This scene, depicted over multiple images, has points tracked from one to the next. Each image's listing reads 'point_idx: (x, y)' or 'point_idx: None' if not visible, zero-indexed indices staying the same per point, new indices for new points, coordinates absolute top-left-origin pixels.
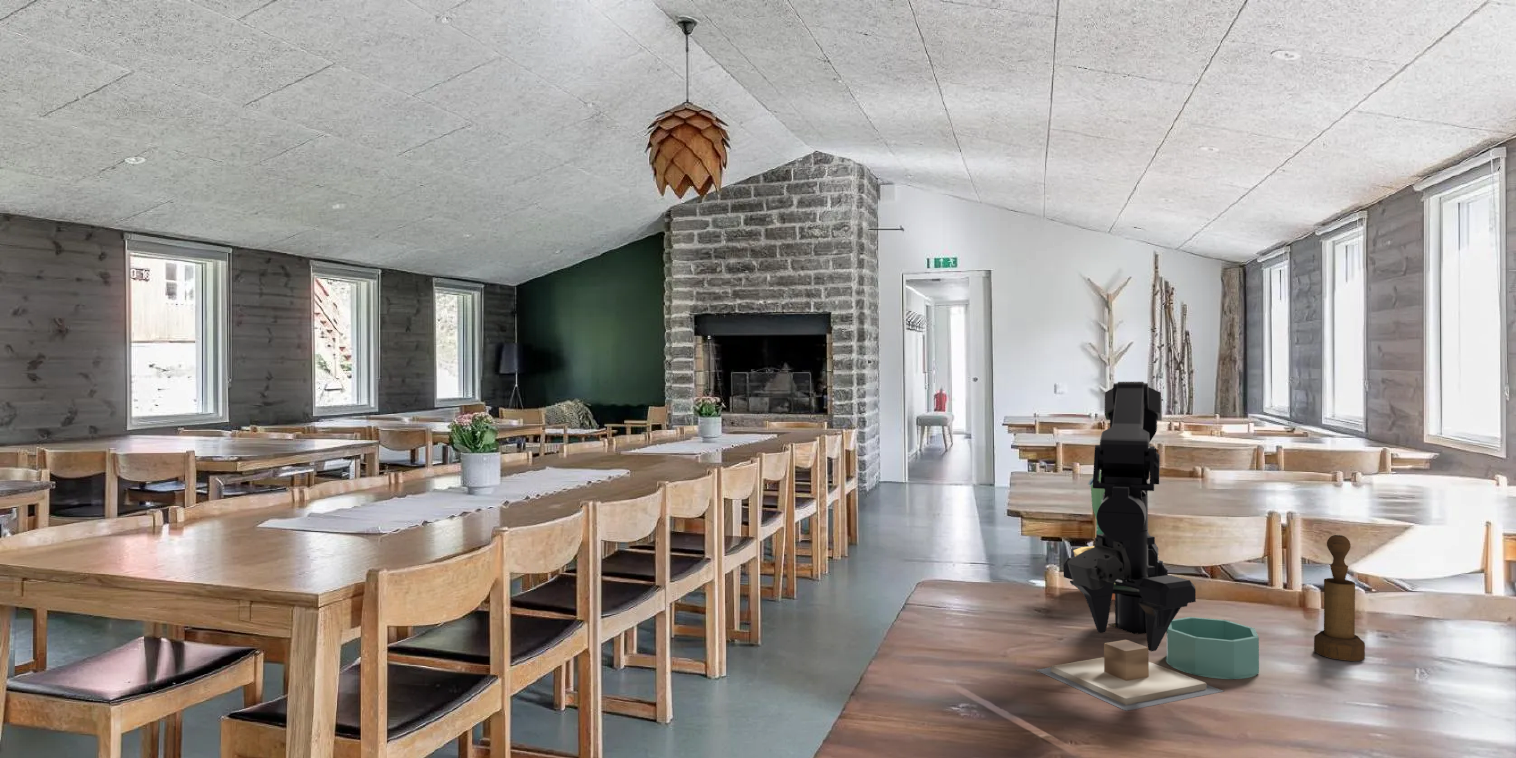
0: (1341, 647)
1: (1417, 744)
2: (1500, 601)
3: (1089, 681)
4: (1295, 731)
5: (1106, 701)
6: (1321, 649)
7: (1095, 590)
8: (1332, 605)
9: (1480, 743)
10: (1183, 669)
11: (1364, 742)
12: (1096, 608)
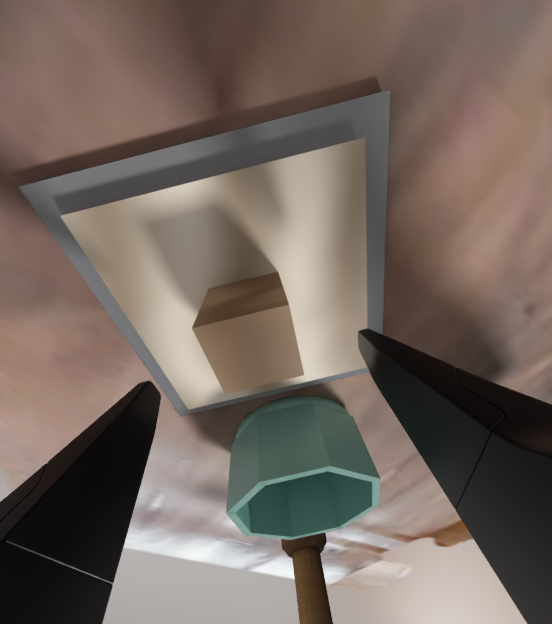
0: (286, 539)
1: None
2: (363, 590)
3: (210, 187)
4: (29, 424)
5: (93, 171)
6: None
7: (541, 509)
8: (309, 605)
9: None
10: (280, 408)
11: (9, 465)
12: (422, 390)
